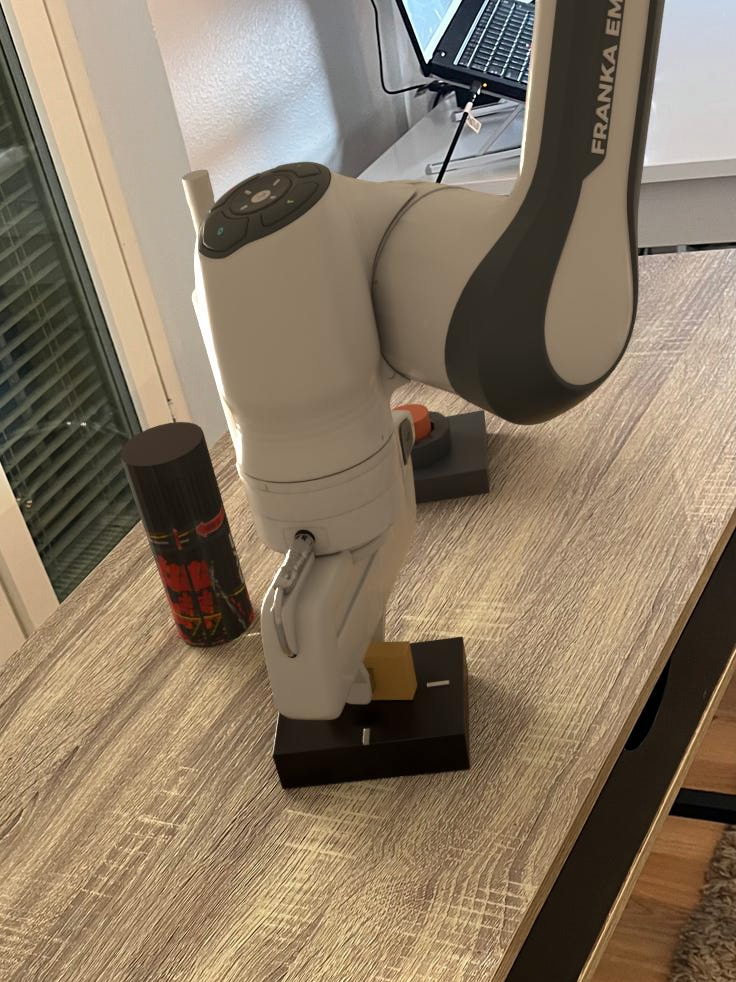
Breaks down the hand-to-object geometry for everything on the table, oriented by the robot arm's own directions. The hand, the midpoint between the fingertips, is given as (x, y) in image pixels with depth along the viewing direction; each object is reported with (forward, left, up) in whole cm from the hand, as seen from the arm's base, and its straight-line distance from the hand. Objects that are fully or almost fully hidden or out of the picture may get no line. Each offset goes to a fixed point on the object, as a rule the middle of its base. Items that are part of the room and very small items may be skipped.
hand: (367, 682), depth 82 cm
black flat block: (0, 0, -4) cm, 4 cm away
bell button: (-2, -33, 0) cm, 33 cm away
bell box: (-2, -33, -4) cm, 33 cm away
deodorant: (+13, -15, -4) cm, 20 cm away
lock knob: (0, 0, -1) cm, 1 cm away
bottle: (+11, -37, -4) cm, 39 cm away
